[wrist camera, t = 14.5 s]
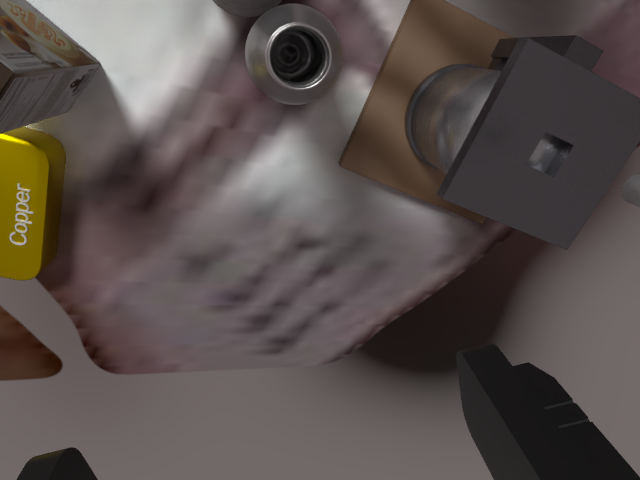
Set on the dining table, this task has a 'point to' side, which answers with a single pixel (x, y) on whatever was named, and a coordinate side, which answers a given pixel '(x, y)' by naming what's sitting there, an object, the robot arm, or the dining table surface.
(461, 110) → the press
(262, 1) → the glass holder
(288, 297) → the dining table surface
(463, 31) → the board
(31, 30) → the coffee box
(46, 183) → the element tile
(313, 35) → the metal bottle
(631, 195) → the plunger
